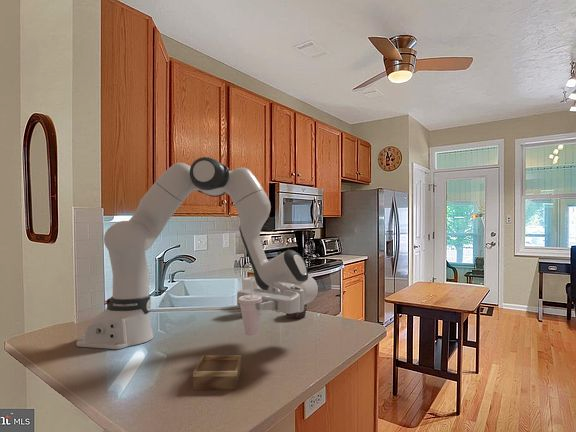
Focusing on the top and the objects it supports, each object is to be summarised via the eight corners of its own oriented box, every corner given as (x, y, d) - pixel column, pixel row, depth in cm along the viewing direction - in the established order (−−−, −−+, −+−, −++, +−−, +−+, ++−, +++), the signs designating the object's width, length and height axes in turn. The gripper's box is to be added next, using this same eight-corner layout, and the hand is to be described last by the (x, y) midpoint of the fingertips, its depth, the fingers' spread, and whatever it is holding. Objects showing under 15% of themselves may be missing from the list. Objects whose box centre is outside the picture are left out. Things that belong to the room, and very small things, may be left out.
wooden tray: (192, 389, 78) (193, 372, 78) (202, 371, 88) (202, 355, 88) (236, 389, 79) (236, 371, 79) (241, 370, 89) (241, 355, 89)
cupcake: (311, 318, 139) (311, 293, 139) (290, 321, 135) (290, 295, 135) (299, 312, 148) (299, 289, 148) (279, 315, 143) (280, 291, 143)
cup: (250, 310, 151) (251, 276, 151) (264, 312, 147) (264, 278, 147) (240, 314, 144) (241, 279, 145) (255, 316, 141) (255, 280, 141)
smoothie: (255, 338, 89) (253, 285, 88) (235, 335, 92) (232, 283, 91) (267, 329, 95) (265, 279, 94) (248, 327, 97) (245, 278, 97)
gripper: (255, 282, 109) (222, 288, 99) (308, 290, 97) (277, 298, 86) (255, 301, 109) (222, 310, 98) (308, 312, 97) (276, 323, 86)
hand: (248, 305), depth 92 cm, fingers closed on smoothie, 6 cm apart
